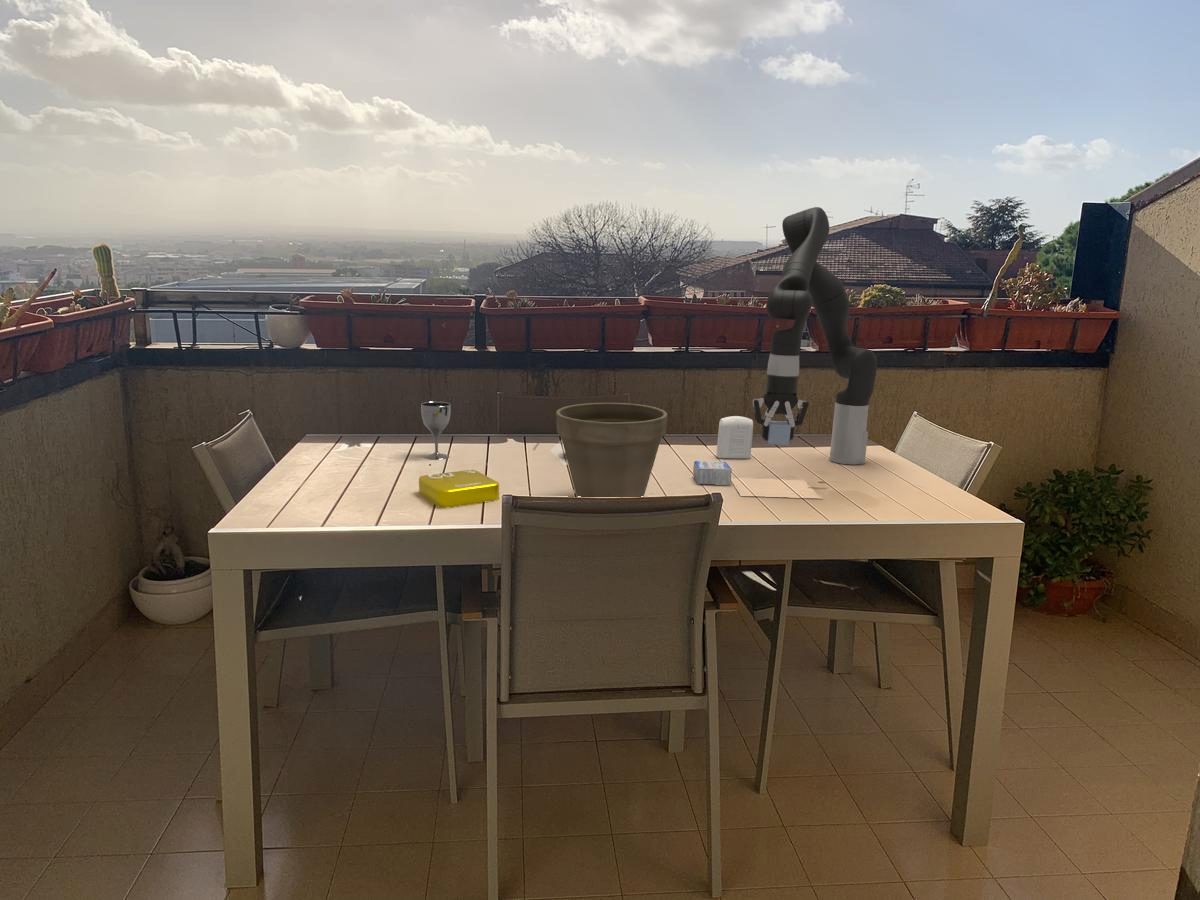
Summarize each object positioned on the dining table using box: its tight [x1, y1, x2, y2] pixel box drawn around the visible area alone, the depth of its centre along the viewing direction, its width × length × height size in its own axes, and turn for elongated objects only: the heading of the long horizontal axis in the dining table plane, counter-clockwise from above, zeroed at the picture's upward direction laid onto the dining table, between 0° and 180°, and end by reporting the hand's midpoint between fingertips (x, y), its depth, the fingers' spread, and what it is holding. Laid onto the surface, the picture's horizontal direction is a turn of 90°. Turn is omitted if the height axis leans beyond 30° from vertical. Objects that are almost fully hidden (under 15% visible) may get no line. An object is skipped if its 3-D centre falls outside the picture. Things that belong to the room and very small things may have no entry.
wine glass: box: [420, 401, 452, 461], centre depth 215 cm, size 8×8×15 cm
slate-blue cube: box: [765, 420, 791, 446], centre depth 193 cm, size 5×5×5 cm
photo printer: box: [716, 415, 754, 460], centre depth 226 cm, size 10×4×12 cm, turn 98°
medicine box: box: [692, 460, 733, 486], centre depth 200 cm, size 8×4×9 cm
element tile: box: [418, 469, 500, 509], centre depth 180 cm, size 15×15×5 cm
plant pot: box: [555, 402, 668, 497], centre depth 176 cm, size 25×25×22 cm
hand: (776, 440), depth 193 cm, fingers closed on slate-blue cube, 5 cm apart
